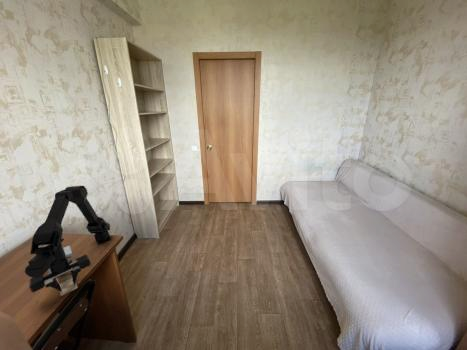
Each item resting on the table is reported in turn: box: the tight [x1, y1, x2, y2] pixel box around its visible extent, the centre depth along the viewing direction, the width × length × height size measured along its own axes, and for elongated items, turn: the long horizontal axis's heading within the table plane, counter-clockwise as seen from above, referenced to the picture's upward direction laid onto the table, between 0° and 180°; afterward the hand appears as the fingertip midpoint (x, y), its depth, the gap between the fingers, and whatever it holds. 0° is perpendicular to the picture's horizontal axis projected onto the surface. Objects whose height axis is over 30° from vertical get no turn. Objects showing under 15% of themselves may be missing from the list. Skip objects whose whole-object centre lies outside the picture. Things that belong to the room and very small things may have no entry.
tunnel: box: [46, 245, 76, 275], centre depth 96 cm, size 10×8×8 cm
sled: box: [56, 270, 79, 297], centre depth 89 cm, size 6×18×6 cm, turn 46°
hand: (68, 287), depth 84 cm, fingers closed on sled, 4 cm apart
